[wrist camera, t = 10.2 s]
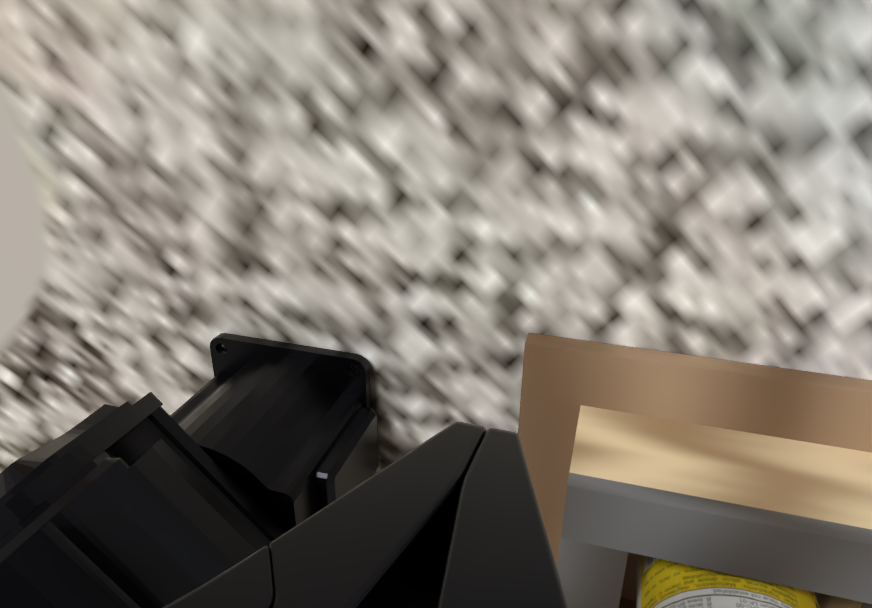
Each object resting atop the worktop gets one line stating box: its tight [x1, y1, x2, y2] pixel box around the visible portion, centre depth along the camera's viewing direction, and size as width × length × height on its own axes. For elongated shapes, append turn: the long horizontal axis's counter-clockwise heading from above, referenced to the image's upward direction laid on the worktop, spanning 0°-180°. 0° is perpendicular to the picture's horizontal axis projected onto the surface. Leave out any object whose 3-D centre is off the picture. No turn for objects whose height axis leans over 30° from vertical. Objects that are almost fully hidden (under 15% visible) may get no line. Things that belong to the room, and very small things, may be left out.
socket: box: [518, 333, 872, 608], centre depth 22 cm, size 14×14×5 cm
